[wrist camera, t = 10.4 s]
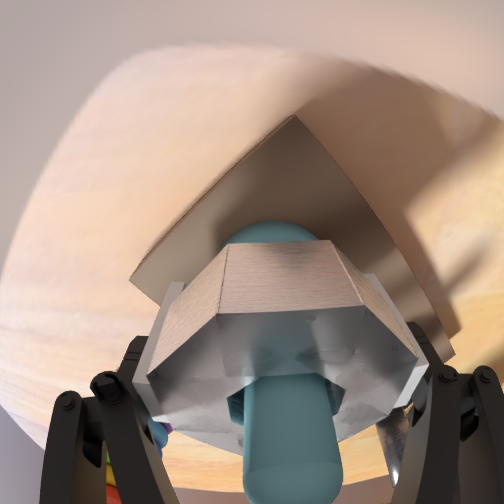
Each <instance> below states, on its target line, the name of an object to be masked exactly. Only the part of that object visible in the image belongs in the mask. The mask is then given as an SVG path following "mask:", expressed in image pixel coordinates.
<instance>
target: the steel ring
mask: <svg viewBox="0 0 504 504" xmlns="http://www.w3.org/2000/svg"><path fill="white" fill-rule="evenodd" d="M418 360H419V357H418V355H417V353H416V352H415V350H414V348H413V346H412V344H411V343H410V341H409V339H408V337H407V336H406V334H405V332H404V330H403V329H402V327H401V325H400V323H399V322H398V320H397V318H396V317H395V315H394V313H393V312H392V310H391V308H390V307H389V305H388V303H387V302H386V300H385V298H384V297H383V295H382V294H381V293H380V292H379V291H378V290H377V289H376V288H375V287H374V286H373V285H372V283H371V282H370V281H369V280H368V279H367V278H366V277H365V276H364V275H363V274H362V273H361V272H360V271H359V270H358V269H357V268H356V267H355V266H354V265H353V263H352V262H351V261H350V260H349V259H348V258H347V257H346V256H345V255H344V254H343V253H342V252H341V251H340V250H339V249H338V248H337V247H336V246H335V245H334V244H333V243H332V242H331V240H314V241H287V242H260V243H236V244H229V243H228V244H227V245H226V246H225V247H224V248H223V250H222V251H221V252H220V253H219V254H218V255H217V256H216V257H215V258H214V259H213V260H212V261H211V262H210V263H209V264H208V265H207V266H206V267H205V268H204V269H203V270H202V271H201V272H200V274H199V275H198V276H197V277H196V278H195V279H194V280H193V281H192V282H191V283H190V284H189V285H188V286H187V287H186V288H185V289H184V290H183V292H182V293H181V294H180V295H179V296H178V297H177V298H176V299H175V300H174V301H173V302H172V303H171V305H170V307H169V310H168V313H167V315H166V318H165V321H164V324H163V326H162V329H161V332H160V335H159V338H158V341H157V343H156V346H155V349H154V352H153V355H152V358H151V361H150V364H149V367H148V370H147V373H146V377H147V379H148V381H149V383H150V385H151V387H152V390H153V392H154V394H155V396H156V398H157V400H158V402H159V404H160V406H161V408H162V410H163V411H164V413H165V415H166V417H167V419H168V421H169V423H170V425H171V426H172V428H173V430H175V431H177V432H180V433H182V434H184V435H187V436H189V437H191V438H194V439H196V440H199V441H201V442H204V443H207V444H209V445H212V446H215V447H217V448H220V449H223V450H226V451H229V452H232V453H235V454H238V455H241V456H243V437H244V390H245V386H247V385H249V384H250V383H252V382H253V381H255V380H257V379H258V378H260V377H261V376H277V375H293V374H306V373H318V374H320V375H322V376H323V377H324V380H325V385H326V389H327V394H328V398H329V403H330V408H331V412H332V417H333V422H334V427H335V432H336V437H337V442H341V441H343V440H345V439H347V438H349V437H351V436H353V435H355V434H357V433H358V432H360V431H362V430H364V429H366V428H368V427H370V426H371V425H373V424H375V423H377V422H379V421H380V420H382V419H384V418H385V417H387V416H389V414H390V412H391V411H392V409H393V407H394V405H395V404H396V402H397V400H398V398H399V397H400V395H401V393H402V391H403V389H404V387H405V385H406V384H407V382H408V380H409V378H410V376H411V374H412V372H413V370H414V368H415V366H416V363H417V361H418Z"/></svg>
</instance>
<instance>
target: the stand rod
mask: <svg viewBox="0 0 504 504" xmlns="http://www.w3.org/2000/svg"><path fill="white" fill-rule="evenodd" d="M412 402H413V401H412V398H410V400H409V401H408V403H407V405H405V406H401V407H397V408H393V409H392V411H391V412H390V414H389V416H387V417H385V418H384V419H382V420H380V421H379V422H377V423H375V425H376V428H377V431H378V435H379V438H380V442H381V445H382V449H383V452H384V456H385V460H386V463H387V467H388V471H389V475H390V479H391V482H392V486H393V488H395V486H396V482H397V478H398V474H399V470H400V466H401V462H402V457H403V453H404V448H405V443H406V437H407V432H408V426H409V421H408V419H405V417H406V413H405V411H404V409H406V408H407V407H408V406H409V405H410V404H411V403H412Z"/></svg>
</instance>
